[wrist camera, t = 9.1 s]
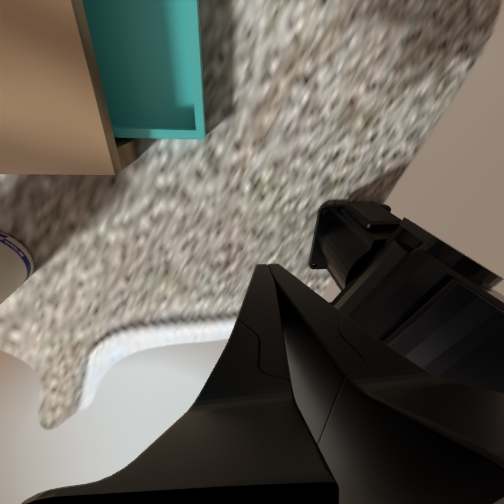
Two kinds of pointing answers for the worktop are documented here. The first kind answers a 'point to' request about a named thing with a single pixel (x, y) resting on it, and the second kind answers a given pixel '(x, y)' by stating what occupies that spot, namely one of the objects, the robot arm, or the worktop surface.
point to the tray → (150, 66)
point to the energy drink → (13, 265)
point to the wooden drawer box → (53, 94)
